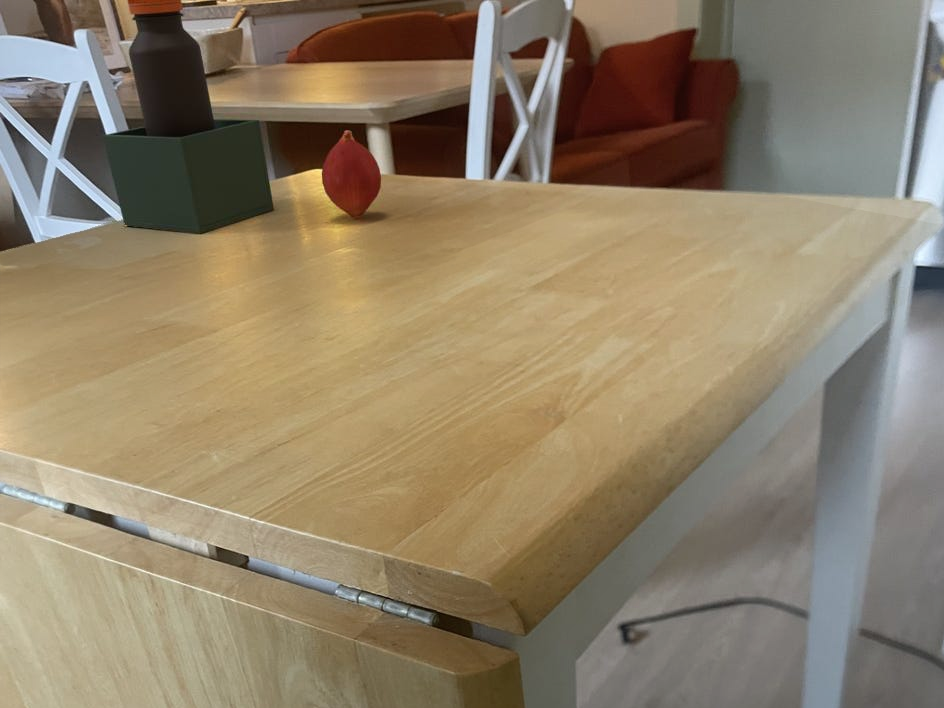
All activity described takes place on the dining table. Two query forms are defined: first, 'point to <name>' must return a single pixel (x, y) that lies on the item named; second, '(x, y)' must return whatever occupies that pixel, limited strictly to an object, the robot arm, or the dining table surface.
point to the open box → (190, 177)
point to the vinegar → (168, 71)
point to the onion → (351, 176)
